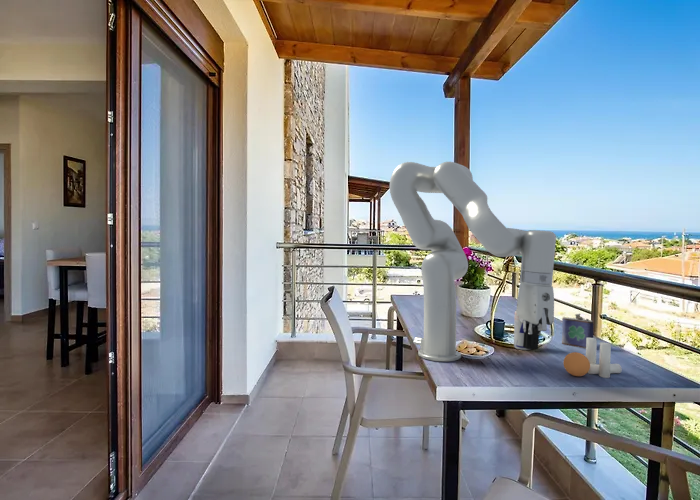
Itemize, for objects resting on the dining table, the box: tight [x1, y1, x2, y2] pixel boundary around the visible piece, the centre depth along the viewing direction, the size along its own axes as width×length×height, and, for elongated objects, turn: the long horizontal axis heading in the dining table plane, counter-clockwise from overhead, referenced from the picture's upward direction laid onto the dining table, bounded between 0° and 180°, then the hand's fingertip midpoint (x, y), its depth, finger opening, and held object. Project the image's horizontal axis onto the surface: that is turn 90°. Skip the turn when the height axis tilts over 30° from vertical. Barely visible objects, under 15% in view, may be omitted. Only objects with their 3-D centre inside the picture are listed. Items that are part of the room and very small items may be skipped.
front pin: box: [587, 363, 623, 375], centre depth 106 cm, size 2×2×8 cm
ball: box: [563, 351, 590, 377], centre depth 104 cm, size 6×6×6 cm
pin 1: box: [585, 337, 598, 365], centre depth 109 cm, size 2×2×8 cm
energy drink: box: [513, 309, 532, 351], centre depth 129 cm, size 5×5×12 cm
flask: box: [561, 313, 595, 349], centre depth 132 cm, size 9×3×11 cm, turn 45°
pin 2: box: [598, 342, 612, 379], centre depth 104 cm, size 2×2×8 cm
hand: (530, 348), depth 105 cm, fingers closed
